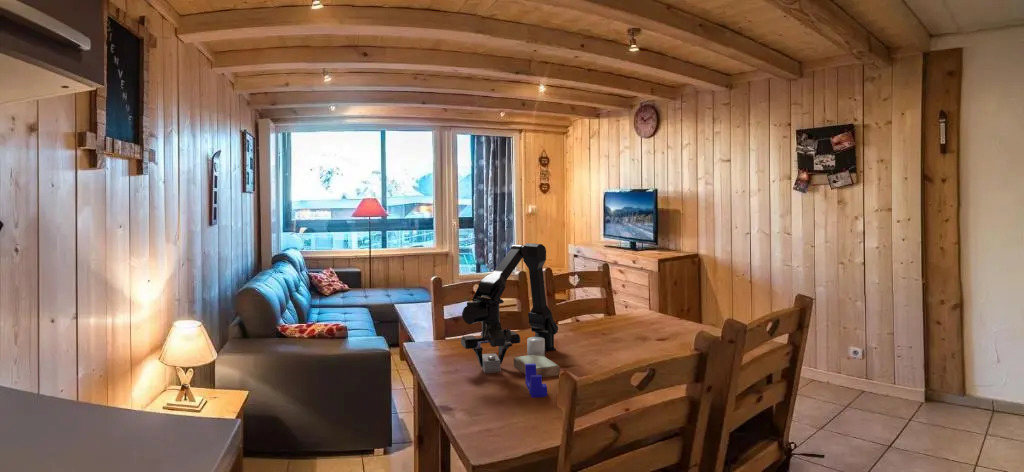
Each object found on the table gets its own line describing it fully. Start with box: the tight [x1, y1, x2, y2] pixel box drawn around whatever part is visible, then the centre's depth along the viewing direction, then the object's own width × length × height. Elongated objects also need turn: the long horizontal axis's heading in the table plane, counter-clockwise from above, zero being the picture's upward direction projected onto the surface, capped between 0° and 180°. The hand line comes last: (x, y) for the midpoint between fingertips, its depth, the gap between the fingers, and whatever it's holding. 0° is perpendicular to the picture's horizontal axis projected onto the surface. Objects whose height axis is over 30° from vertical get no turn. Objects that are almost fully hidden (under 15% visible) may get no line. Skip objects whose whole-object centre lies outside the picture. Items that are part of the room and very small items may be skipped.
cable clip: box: [524, 363, 548, 398], centre depth 155 cm, size 12×4×6 cm, turn 6°
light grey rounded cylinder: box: [526, 336, 546, 357], centre depth 184 cm, size 6×6×7 cm
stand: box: [513, 354, 561, 378], centre depth 173 cm, size 10×14×3 cm
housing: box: [481, 352, 501, 374], centre depth 174 cm, size 5×8×5 cm, turn 13°
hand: (490, 365), depth 174 cm, fingers open, 6 cm apart
